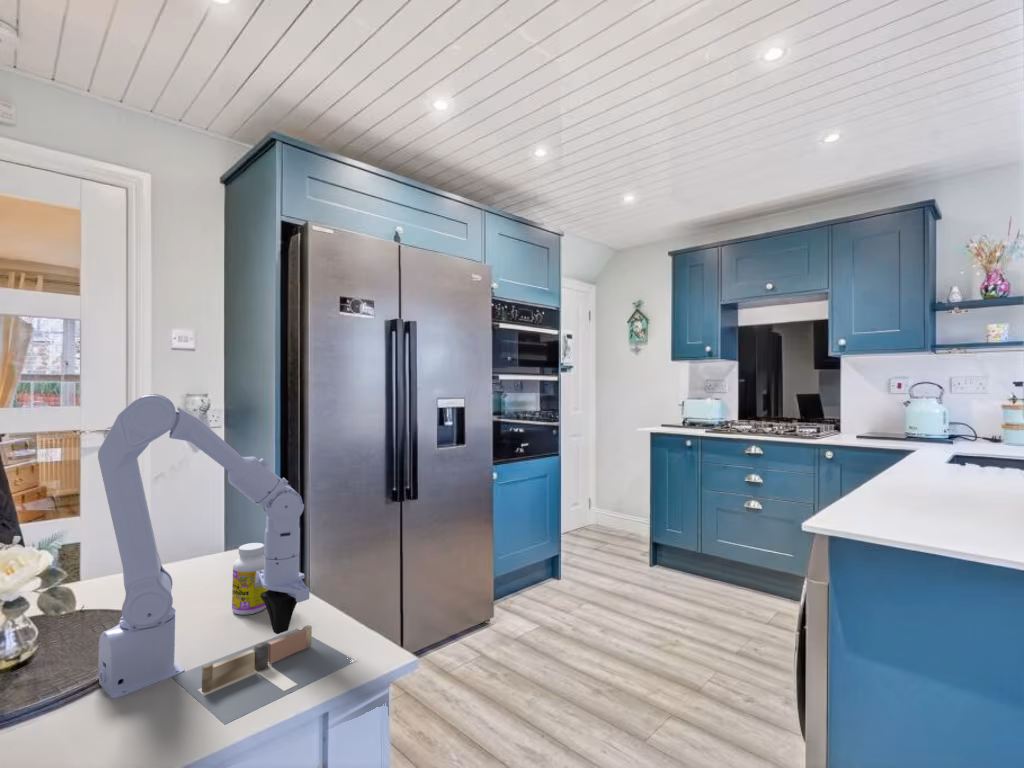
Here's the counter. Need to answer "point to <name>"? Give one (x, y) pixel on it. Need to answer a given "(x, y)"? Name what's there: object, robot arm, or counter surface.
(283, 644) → the pink slab
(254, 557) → the supplement bottle
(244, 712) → the board
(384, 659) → the counter surface
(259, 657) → the base
